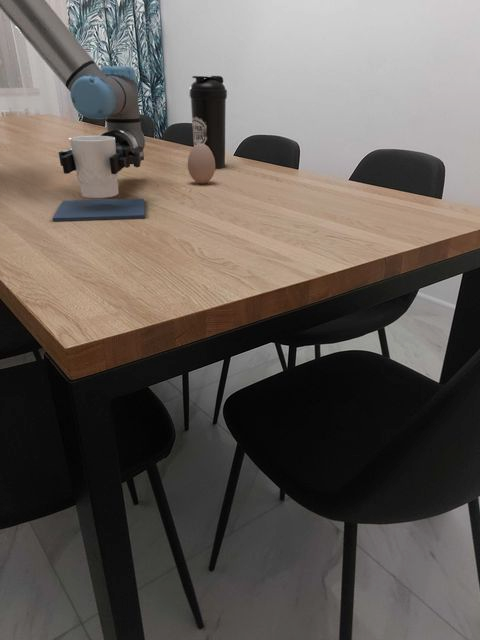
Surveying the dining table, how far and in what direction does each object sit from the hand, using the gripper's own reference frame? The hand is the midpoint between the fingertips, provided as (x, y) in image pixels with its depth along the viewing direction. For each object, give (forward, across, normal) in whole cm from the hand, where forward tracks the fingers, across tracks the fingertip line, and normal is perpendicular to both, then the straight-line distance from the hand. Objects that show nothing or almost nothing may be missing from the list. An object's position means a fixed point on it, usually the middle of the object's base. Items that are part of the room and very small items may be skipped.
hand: (88, 165), depth 88 cm
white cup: (-5, 0, -6) cm, 8 cm away
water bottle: (-59, -18, -9) cm, 62 cm away
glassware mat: (-5, 0, -9) cm, 10 cm away
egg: (-33, -17, -9) cm, 39 cm away
